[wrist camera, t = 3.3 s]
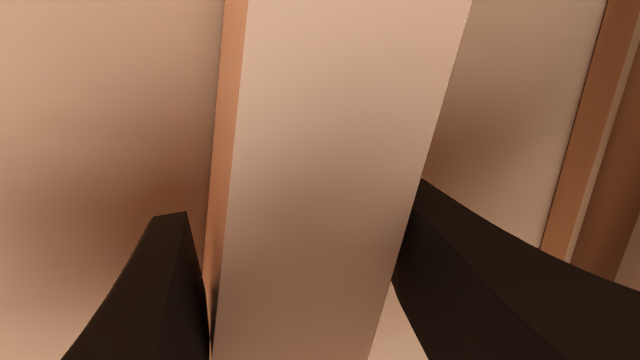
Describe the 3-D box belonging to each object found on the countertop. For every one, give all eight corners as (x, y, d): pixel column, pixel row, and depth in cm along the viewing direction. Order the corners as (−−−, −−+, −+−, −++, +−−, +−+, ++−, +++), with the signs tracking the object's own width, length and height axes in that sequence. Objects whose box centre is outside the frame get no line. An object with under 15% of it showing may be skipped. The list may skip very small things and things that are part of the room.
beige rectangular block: (401, -96, 10) (491, -65, 7) (302, 366, 16) (329, 488, 13) (235, -125, 10) (258, -103, 7) (194, 371, 15) (197, 502, 12)
